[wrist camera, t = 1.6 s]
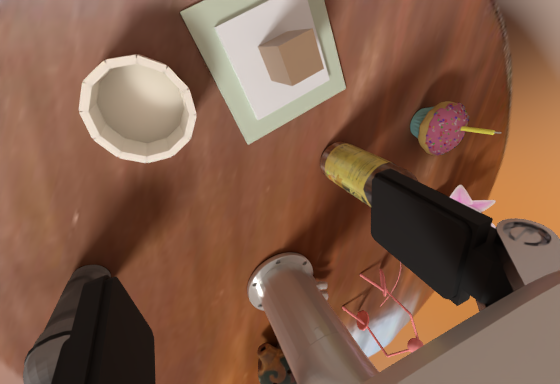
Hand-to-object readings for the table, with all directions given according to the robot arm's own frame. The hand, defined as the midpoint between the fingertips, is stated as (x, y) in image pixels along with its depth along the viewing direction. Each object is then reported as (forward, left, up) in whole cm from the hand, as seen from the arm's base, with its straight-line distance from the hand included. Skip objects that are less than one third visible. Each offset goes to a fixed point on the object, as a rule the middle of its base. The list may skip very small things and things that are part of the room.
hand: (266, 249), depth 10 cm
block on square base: (-9, -9, -27) cm, 30 cm away
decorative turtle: (-29, +44, -28) cm, 59 cm away
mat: (-9, -9, -28) cm, 31 cm away
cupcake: (-38, -9, -28) cm, 48 cm away
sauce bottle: (-24, +1, -28) cm, 37 cm away
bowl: (+4, +1, -28) cm, 28 cm away
